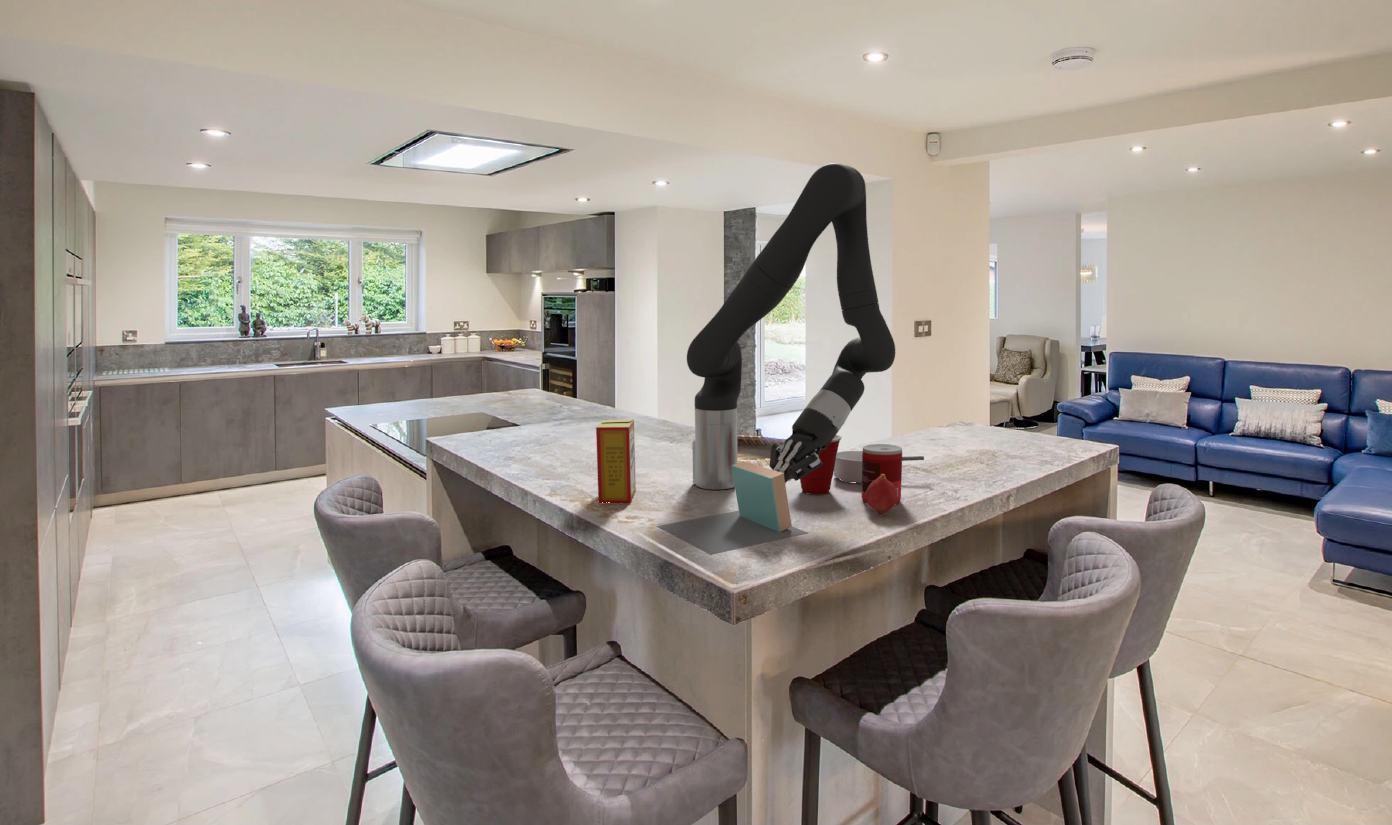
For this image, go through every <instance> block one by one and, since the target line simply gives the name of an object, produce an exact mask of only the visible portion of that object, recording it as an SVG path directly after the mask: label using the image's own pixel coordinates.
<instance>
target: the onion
mask: <svg viewBox="0 0 1392 825" xmlns="http://www.w3.org/2000/svg"><path fill="white" fill-rule="evenodd" d="M865 497H866V501H867V503H868V504H867V505H868V506H869V507H870V509H872V511H874V512H875V513H877V514H878V516H884V515H886V514H887V513H888V512H889V511H890V510H892V509H893V508H894V507H895V506H896V505H897V504H896V503H897V499H898V494H897V491H896V489H895V487H894V485H893V484H892V483H891V482H890V481H888V480H887V479H886V477H885V474H881V476H880V477H878V478H877V479H875V480H874V481H873V482H872V483H871V484H870V485H869V487H868V488H867V491H866V495H865ZM895 504H896V505H895Z"/></svg>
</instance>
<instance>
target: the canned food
mask: <svg viewBox="0 0 1392 825" xmlns="http://www.w3.org/2000/svg"><path fill="white" fill-rule="evenodd" d="M862 451H863V452H862V484H861V499H862V501H863V503H865V504H866V503H867V501H866V497H865V495H866V491H867V488H868V487H869V485H870V484H871V483H872V482H873V481H874V480H875V479H877V478H878V477H880V476H881V474H885V477H886V479H887V480H888V481H890V482H891V483H892V484H893V485H894V487H895V489H896V491H897V494H898V499H897V503H896V505H898V504H900V502H901V499H902V472H903V461H902V457H903V448H902V447H901V446H898V445H895V444H890V443H888V444H885V443H874V444H872V443H871V444H867V445H864V446H862ZM867 505H868V503H867Z"/></svg>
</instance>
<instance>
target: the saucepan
mask: <svg viewBox="0 0 1392 825" xmlns="http://www.w3.org/2000/svg"><path fill="white" fill-rule="evenodd" d="M862 452H863V450H859V449H858V450H853V449H851V450H840V451H837V455H836V461H835V467H834V472H833V477H835V478H837V479H838V480H840V479H841V480H843V481H842V482H844V481H846V482H845V483H848V482H856V483H862ZM924 460H925V457H924V455H923V456H921V455H918V456H917V455H915V456H914V455H913V456H912V455H911V456H902V462H907V461H908V462H909V461H910V462H911V461H924ZM841 480H840V481H841ZM856 483H855V484H856Z"/></svg>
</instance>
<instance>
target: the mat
mask: <svg viewBox="0 0 1392 825" xmlns="http://www.w3.org/2000/svg"><path fill="white" fill-rule="evenodd" d="M657 527H658V528H660V529H661V530H663V531H665V532H667V533H668V534H671V535H672V536H674V537H676V538H678V539H680V540H682V541H684V542H686V543H688V544H690V545H691V546H693V547H695V548H697V549H699V550H701V551H703V552H705V553H706V554H707V555H710V556H712V555H715V554H720V553H724V552H725V553H726V552H730V551H734V550H739V549H742V548H747V547H753V546H755V545H756V546H757V545H761V544H765V543H770V542H774V541H775V542H776V541H779V540H784V539H787V538H792V537H793V538H794V537H797V536H801V535H806V534H809V532H808V531H805V530H802V529H800V528H797V527H795V526H793V525H792V527H790V528H788V529H786V530H783V531H781V532H777V531H775V530H773V529H770V528H768V527H765V526H763V525H761V524H758V523H756V522H753V521H751V520H749V519H746V518H744V517H742V516H740V514H739V510H733V511H729V512H724V513H719V514H714V515H707V516H703V517H698V518H692V519H686V520H682V521H677V522H670V523H665V524H661V525H660V524H659V525H657V526H656V528H657Z"/></svg>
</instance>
